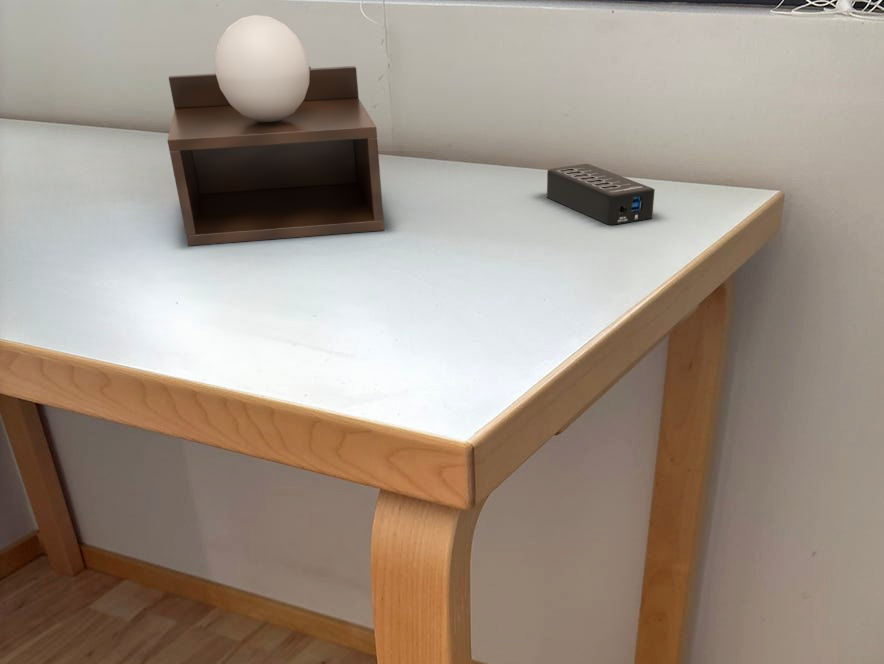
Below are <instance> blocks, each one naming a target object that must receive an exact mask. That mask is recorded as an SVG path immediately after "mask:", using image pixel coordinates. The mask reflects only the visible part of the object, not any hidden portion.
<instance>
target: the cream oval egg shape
mask: <svg viewBox="0 0 884 664" xmlns="http://www.w3.org/2000/svg"><path fill="white" fill-rule="evenodd" d="M311 68H312V67H311V66H310V63H309V59H308V55H307V52H306V49H305V48H304V46H303V44H302V42H301V40H300V39H299V37H298V35H296V34H295V33H294V32H293V30H291V29H290V28H289V27H288V26H287V25H286V24H285V23H283V22H282V21H280V20H278V19H275V18H273V17H271V16H270V15H269V16H268V15H260V14H259V15H258V14H253V15H248V16H243V17H240V18H239V19H237V20H236V21H235V22H233V23H232V24H231V25H229V26H227V28H226V30H225V31H224V32H223V34H222V35H221V36H220V38H219V39H218V43H217V47H216V50H215V54H214V72H215V73H216V77H217V80H218V83H219V86H220V89H221V91H222V92H223V94H224V95H225V97H226V99H227V100H228V102H229V103H230V104H231V105H232V106H233V107H234V108H235V109H236V110H237V111H238V112H239V113H241V114H242V115H243V116H246V117H248V118H250V119H253V120H255V121H258V122H275V121H280V120H283V119H285V118H286V117H288V116H289V115H291V114H292V113H294V112H295V111H296V109H297V108H298V107H299V105H300V104H301V103H302V101H303V100H304V98H305V95H306V92H307V89H308V86H309V74H310V69H311ZM215 73H214V74H215Z"/></svg>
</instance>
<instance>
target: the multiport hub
mask: <svg viewBox="0 0 884 664" xmlns="http://www.w3.org/2000/svg"><path fill="white" fill-rule="evenodd" d="M546 173H547V174H546V176H547V177H546V179H547V180H546V198H548V199H550V200H552V201H555V202H556V203H559V204H561V205H563V206H566V207H568V208H570V209H572V210H575V211H577V212H579V213H582V214H584V215H585V216H588V217H590V218H592V219H595V220H597V221H599V222H602V223H603V224H606V225H608V226H609V225H610V226H616V225H622V224H626V223H627V224H628V223H633V222H639V221H644V220H650V219H651V220H652V219H653V216H654V204H655V202H654V201H655V190H656V189H655V188H652V187H650V186H648V185H645V184H643V183H640V182H638V181H635V180H632V179H629V178H627V177H623V176H621V175H619V174H617V173H613V172H611V171H608V170H605V169H603V168H600V167H597V166H594V165H592V164H590V163H582V164H574V165H568V166H561V167H554V168H549V169H547V171H546Z"/></svg>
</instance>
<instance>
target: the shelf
mask: <svg viewBox="0 0 884 664" xmlns="http://www.w3.org/2000/svg"><path fill="white" fill-rule="evenodd" d="M357 73H358V72H357V67H356V66H355V65H346V66H327V67H311V69H310V74H309V86H308V89H307V92H306V95H305V98H304V100H303V101H302V103H301V104H300V105H299V107H298V108H297V109H296V111H295V112H294V113H292V114H291V115H289V116H288V117H286V118H285V119H283V120H280V121H275V122H258V121H255V120H253V119H250V118H248V117H246V116H243V115H242V114H241V113H239V112H238V111H237V110H236V109H235V108H234V107H233V106H232V105H231V104H230V103H229V102H228V100H227V99H226V97H225V95H224V94H223V92H222V91H221V89H220V86H219V83H218V80H217V77H216V73H199V74H197V73H196V74H182V75H180V74H179V75H169V76H168V82H169V88H170V94H171V99H172V103H173V108H174V110H173V113H172V118H171V123H170V127H169V131H168V136H167V139H166V140H167V145H168V150H169V155H170V160H171V166H172V171H173V176H174V181H175V185H176V191H177V197H178V202H179V206H180V213H181V217H182V222H183V227H184V233H185V238H186V243H187V246H189V247H190V246H191V247H192V246H203V245H218V244H229V243H241V242H253V241H266V240H279V239H280V240H281V239H292V238H303V237H304V238H306V237H316V236H317V237H318V236H331V235H341V234H342V235H343V234H356V233H366V232H368V233H369V232H380V231H385V222H384V209H383V197H382V183H381V169H380V156H379V145H378V144H379V142H378V129H377V126H376V124H375V122H374V121H373V119H372V118H371V115H370V114H369V112H368V111H367V110H366V107H365V106H364V104H363V103H362V100H361V99H360V97H359V86H358V74H357Z"/></svg>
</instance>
